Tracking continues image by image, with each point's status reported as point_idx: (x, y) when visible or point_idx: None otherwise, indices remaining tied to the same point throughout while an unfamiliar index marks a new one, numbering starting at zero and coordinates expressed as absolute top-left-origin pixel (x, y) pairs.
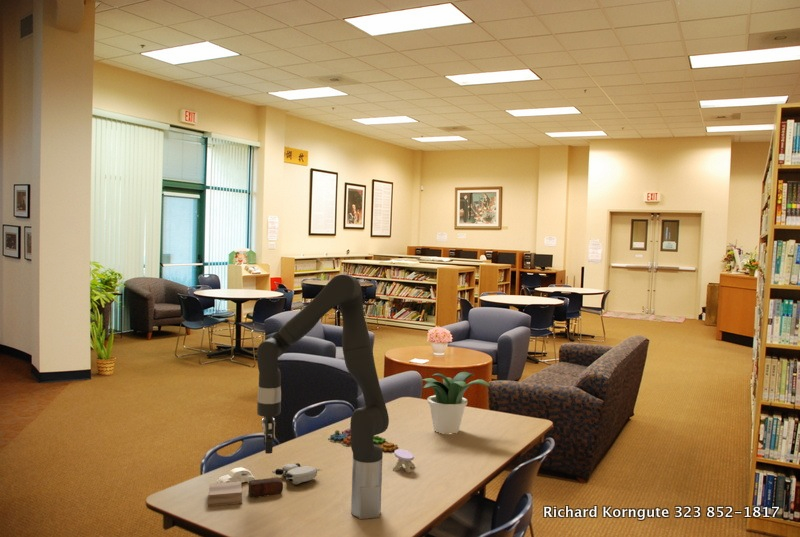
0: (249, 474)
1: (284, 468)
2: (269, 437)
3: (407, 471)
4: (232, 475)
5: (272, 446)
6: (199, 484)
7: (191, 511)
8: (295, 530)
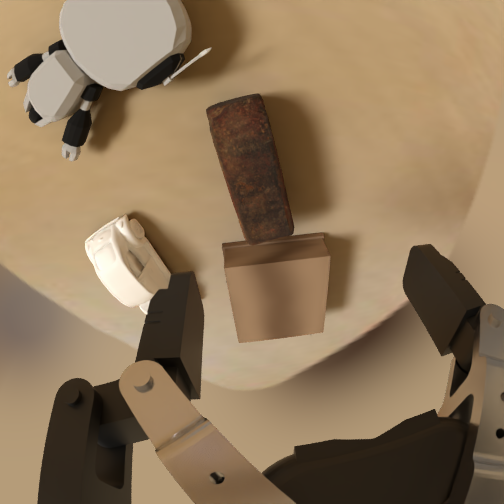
0: (123, 241)
1: (68, 110)
2: (189, 328)
3: None
4: None
5: (457, 275)
6: None
7: (334, 332)
8: (500, 103)
